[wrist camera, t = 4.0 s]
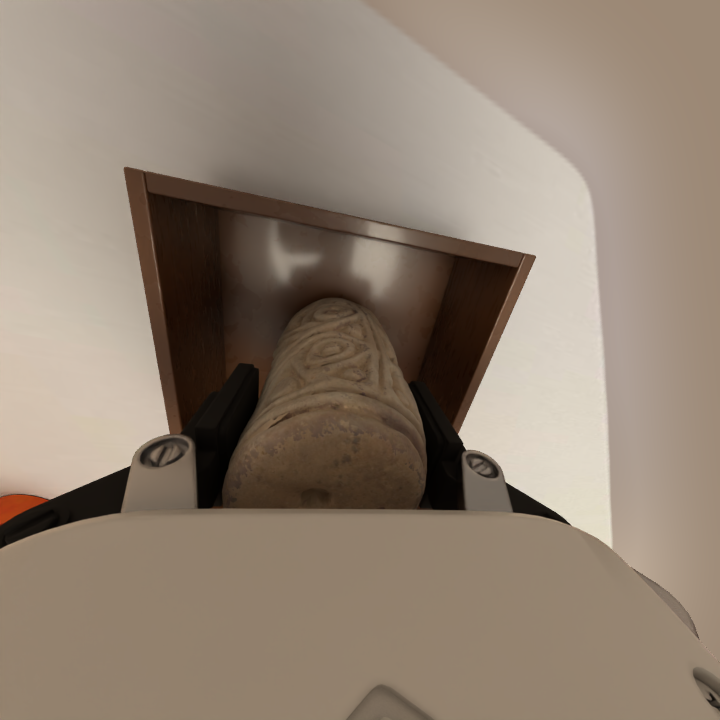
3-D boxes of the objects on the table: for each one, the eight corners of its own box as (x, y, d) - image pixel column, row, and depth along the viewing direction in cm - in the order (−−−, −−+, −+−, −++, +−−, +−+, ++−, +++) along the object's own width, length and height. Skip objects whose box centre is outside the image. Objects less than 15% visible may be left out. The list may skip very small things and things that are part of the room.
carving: (266, 368, 18) (174, 565, 7) (309, 269, 15) (262, 353, 5) (346, 398, 20) (364, 590, 9) (396, 315, 17) (503, 448, 7)
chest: (210, 195, 14) (122, 165, 8) (462, 248, 16) (537, 255, 11) (223, 417, 20) (179, 492, 14) (404, 429, 23) (430, 497, 17)
